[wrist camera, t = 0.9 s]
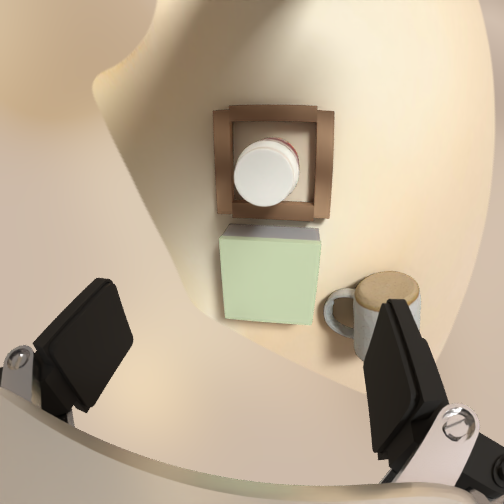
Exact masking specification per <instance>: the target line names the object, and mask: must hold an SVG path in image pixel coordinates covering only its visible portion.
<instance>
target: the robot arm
mask: <svg viewBox="0 0 504 504" xmlns="http://www.w3.org/2000/svg"><path fill="white" fill-rule="evenodd" d="M132 344H133V335H132V333H131V330H130V327H129V324H128V322H127V319H126V316H125V313H124V310H123V307H122V304H121V301H120V298H119V294H118V291H117V288H116V286H115V284H113V282H112V281H111V280H110V279H104V278H96V279H95V280H94V281H93V282H92V283H91V284H90V285H88V286H87V288H85V289H84V290H83V291H82V292H81V293H80V294H79V295H78V296H77V297H76V298H75V299H74V300H73V301H72V302H71V303H70V304H69V305H68V306H67V307H66V308H65V309H64V310H63V311H62V312H61V313H60V314H59V315H58V316H57V318H56V319H55V320H54V321H53V322H52V323H51V324H50V325H49V326H48V327H47V328H46V329H45V330H44V331H43V333H42V334H41V335H40V336H39V337H38V338H37V339H36V340H35V341H34V342H33V345H34V347H35V348H36V350H37V351H36V352H35V353H34V352H33V350H32V348H31V347H29V346H26V345H23V346H19V347H16V348H15V349H13V350H11V352H10V353H8V355H7V356H6V358H5V361H4V366H3V367H1V368H0V504H504V447H503V446H501V445H499V444H498V443H496V442H495V441H493V440H491V439H489V438H488V437H486V436H484V435H483V434H481V433H480V432H479V429H480V424H479V419H478V417H477V414H476V413H475V412H474V410H473V409H471V408H470V407H469V406H467V405H465V404H461V403H452V404H449V402H448V399H447V396H446V393H445V389H444V386H443V384H442V381H441V378H440V375H439V372H438V369H437V366H436V364H435V361H434V358H433V356H432V353H431V351H430V348H429V345H428V343H427V341H426V340H425V339H424V338H422V337H421V334H420V332H419V329H418V327H417V325H416V322H415V320H414V318H413V315H412V313H411V311H410V308H409V306H408V304H407V302H406V300H405V299H388V300H387V302H386V303H382V304H381V307H380V311H379V314H378V318H377V321H376V325H375V328H374V331H373V335H372V338H371V341H370V344H369V347H368V350H367V353H366V356H365V359H364V365H363V369H364V376H365V384H366V391H367V399H368V407H369V416H370V426H371V437H372V449H373V452H374V453H376V452H378V460H384V459H388V460H389V467H390V468H391V469H390V470H389V471H388V472H387V474H386V475H385V476H384V478H383V479H382V480H381V481H380V482H379V484H367V485H366V484H365V485H348V486H304V485H284V484H271V483H261V482H252V481H245V480H238V479H232V478H226V477H221V476H216V475H211V474H206V473H201V472H197V471H193V470H188V469H184V468H181V467H177V466H173V465H170V464H166V463H163V462H159V461H157V460H153V459H150V458H147V457H144V456H141V455H138V454H136V453H133V452H130V451H128V450H125V449H122V448H120V447H117V446H115V445H112V444H110V443H107V442H105V441H103V440H101V439H98V438H96V437H94V436H92V435H89V434H87V433H85V432H83V431H81V430H79V429H77V428H75V426H74V421H73V414H72V406H73V405H74V406H75V407H76V408H77V409H79V410H81V411H83V412H85V413H87V412H88V410H89V408H90V407H93V406H94V405H95V403H96V401H97V400H98V398H99V396H100V394H101V393H102V392H103V390H104V388H105V387H106V385H107V384H108V382H109V380H110V379H111V377H112V376H113V374H114V372H115V371H116V369H117V368H118V366H119V365H120V363H121V361H122V360H123V358H124V357H125V355H126V354H127V352H128V350H129V349H130V347H131V346H132Z"/></svg>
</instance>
